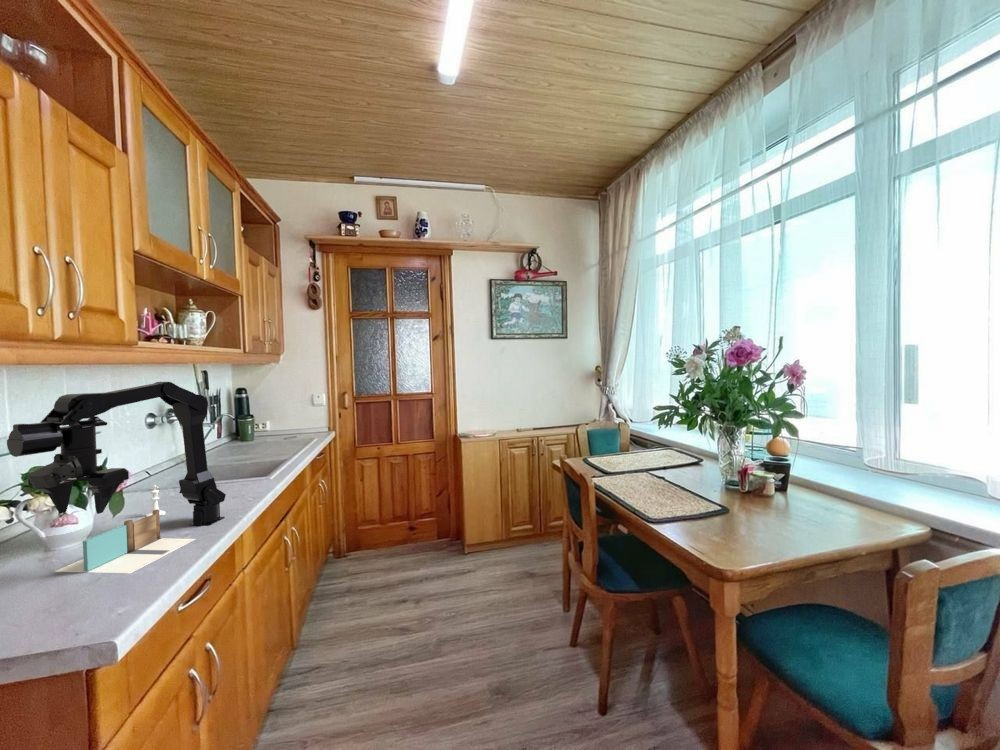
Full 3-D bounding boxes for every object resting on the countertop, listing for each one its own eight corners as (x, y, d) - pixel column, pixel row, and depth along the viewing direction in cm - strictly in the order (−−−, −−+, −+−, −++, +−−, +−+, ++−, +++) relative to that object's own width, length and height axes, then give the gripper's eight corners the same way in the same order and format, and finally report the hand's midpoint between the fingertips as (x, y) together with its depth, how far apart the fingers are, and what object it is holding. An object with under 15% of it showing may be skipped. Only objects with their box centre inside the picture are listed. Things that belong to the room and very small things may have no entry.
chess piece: (149, 514, 129) (148, 483, 128) (168, 511, 130) (167, 482, 130) (142, 519, 124) (141, 488, 124) (161, 517, 126) (160, 486, 126)
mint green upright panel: (123, 552, 100) (122, 525, 100) (127, 552, 100) (126, 525, 100) (83, 570, 91) (82, 541, 91) (87, 571, 91) (86, 541, 91)
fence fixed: (156, 537, 109) (155, 509, 109) (162, 537, 109) (160, 509, 109) (123, 553, 100) (122, 522, 100) (129, 553, 100) (128, 522, 100)
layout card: (131, 539, 110) (131, 537, 110) (196, 540, 108) (195, 538, 108) (54, 573, 92) (54, 571, 92) (130, 575, 90) (130, 572, 90)
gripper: (-4, 455, 85) (-2, 527, 85) (78, 454, 84) (81, 527, 84) (56, 445, 96) (58, 508, 96) (129, 444, 95) (132, 508, 95)
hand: (81, 513), depth 93 cm, fingers open, 9 cm apart
